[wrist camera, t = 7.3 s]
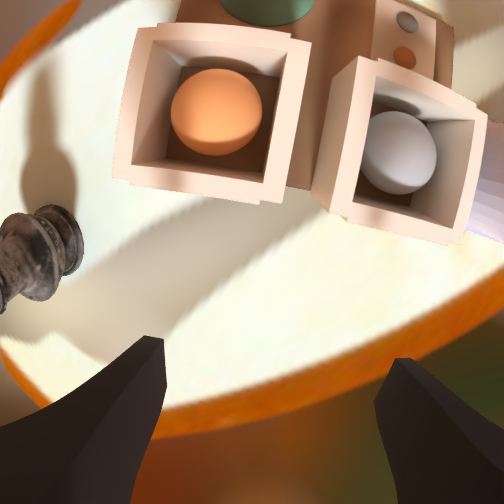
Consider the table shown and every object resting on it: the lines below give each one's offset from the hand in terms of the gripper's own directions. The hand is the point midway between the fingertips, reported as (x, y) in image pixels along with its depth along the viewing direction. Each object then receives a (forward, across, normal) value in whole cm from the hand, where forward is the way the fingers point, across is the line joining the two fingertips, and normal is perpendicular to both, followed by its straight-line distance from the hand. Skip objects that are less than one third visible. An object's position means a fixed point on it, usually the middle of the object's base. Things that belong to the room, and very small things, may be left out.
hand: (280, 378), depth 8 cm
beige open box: (+9, +4, -8) cm, 12 cm away
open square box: (+9, -5, -7) cm, 12 cm away
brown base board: (+10, -1, -11) cm, 15 cm away
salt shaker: (+10, +15, +1) cm, 18 cm away
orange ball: (+9, +4, -8) cm, 12 cm away
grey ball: (+9, -5, -7) cm, 12 cm away
